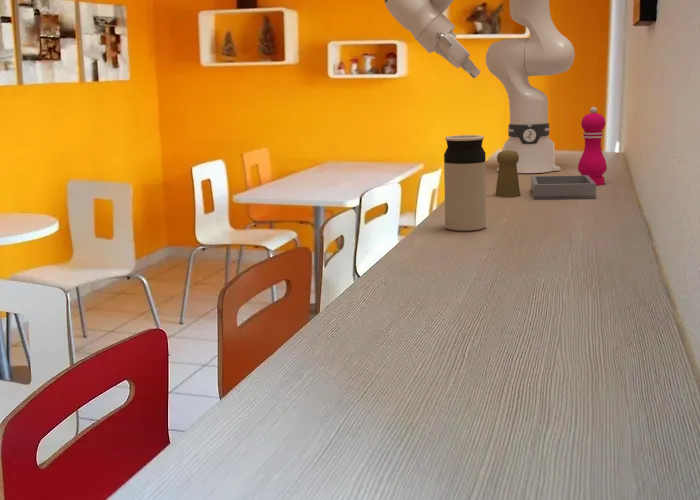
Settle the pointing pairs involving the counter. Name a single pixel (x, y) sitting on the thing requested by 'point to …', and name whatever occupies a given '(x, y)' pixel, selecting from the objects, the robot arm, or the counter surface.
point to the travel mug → (465, 183)
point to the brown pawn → (507, 174)
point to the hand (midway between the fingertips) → (477, 75)
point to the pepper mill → (593, 147)
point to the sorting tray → (563, 187)
